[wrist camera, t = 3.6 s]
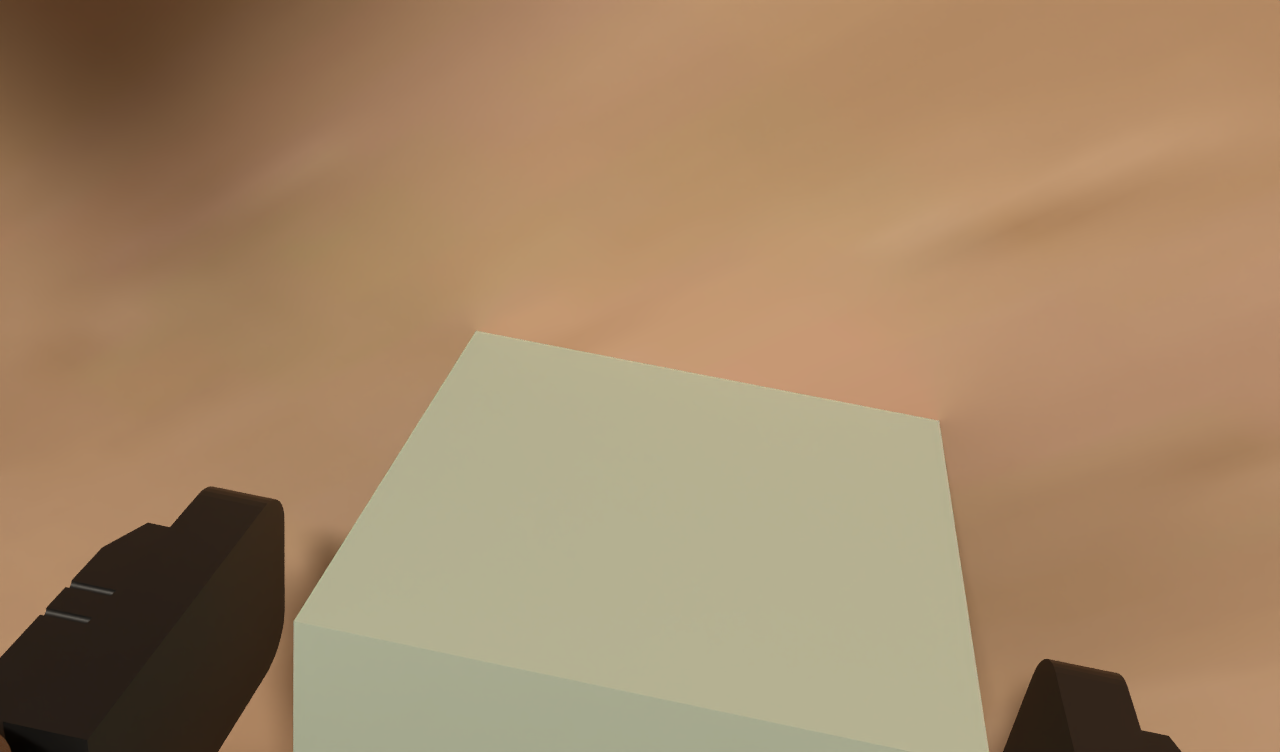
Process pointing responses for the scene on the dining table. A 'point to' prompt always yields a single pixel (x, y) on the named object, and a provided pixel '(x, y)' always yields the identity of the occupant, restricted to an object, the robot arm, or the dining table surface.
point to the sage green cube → (643, 574)
